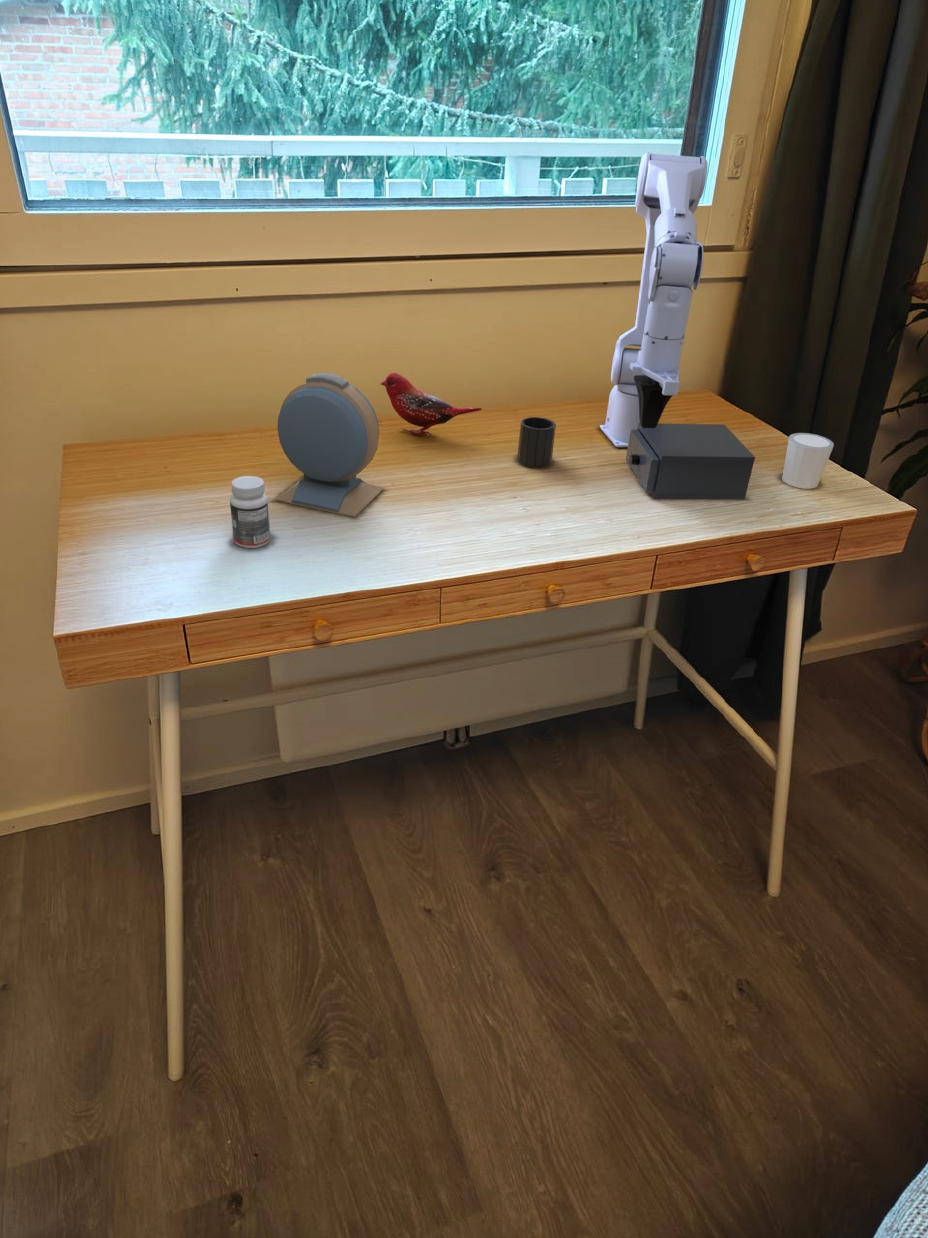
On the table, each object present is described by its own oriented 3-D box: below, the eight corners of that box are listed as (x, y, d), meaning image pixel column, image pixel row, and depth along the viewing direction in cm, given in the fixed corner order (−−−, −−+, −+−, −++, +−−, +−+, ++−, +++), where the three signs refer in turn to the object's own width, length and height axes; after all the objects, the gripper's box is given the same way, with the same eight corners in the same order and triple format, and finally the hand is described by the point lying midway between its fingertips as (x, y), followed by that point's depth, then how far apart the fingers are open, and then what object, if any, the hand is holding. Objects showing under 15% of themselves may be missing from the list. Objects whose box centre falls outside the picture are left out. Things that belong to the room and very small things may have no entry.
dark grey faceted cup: (514, 455, 146) (517, 417, 143) (546, 454, 147) (550, 416, 144) (522, 468, 142) (526, 429, 138) (554, 467, 143) (559, 428, 139)
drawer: (638, 491, 135) (643, 459, 132) (618, 459, 145) (623, 429, 142) (730, 492, 136) (738, 460, 134) (704, 460, 147) (711, 430, 144)
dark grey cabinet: (653, 498, 135) (661, 455, 131) (631, 463, 146) (637, 422, 142) (744, 499, 137) (755, 457, 133) (715, 464, 148) (724, 424, 144)
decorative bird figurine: (382, 425, 154) (383, 368, 149) (481, 441, 151) (485, 383, 145) (377, 431, 152) (377, 373, 146) (477, 447, 148) (481, 388, 143)
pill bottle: (236, 531, 119) (230, 473, 114) (272, 532, 119) (268, 474, 115) (231, 549, 115) (225, 489, 110) (268, 549, 115) (264, 490, 111)
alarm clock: (388, 491, 132) (390, 373, 122) (361, 518, 124) (360, 394, 114) (302, 473, 135) (296, 357, 126) (269, 499, 128) (261, 377, 118)
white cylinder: (824, 492, 140) (837, 450, 137) (780, 486, 141) (791, 445, 138) (819, 475, 146) (831, 435, 142) (776, 470, 147) (786, 429, 143)
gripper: (623, 319, 131) (610, 408, 139) (650, 348, 119) (633, 444, 127) (670, 320, 132) (654, 409, 139) (701, 350, 120) (682, 445, 127)
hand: (647, 426), depth 133 cm, fingers closed
